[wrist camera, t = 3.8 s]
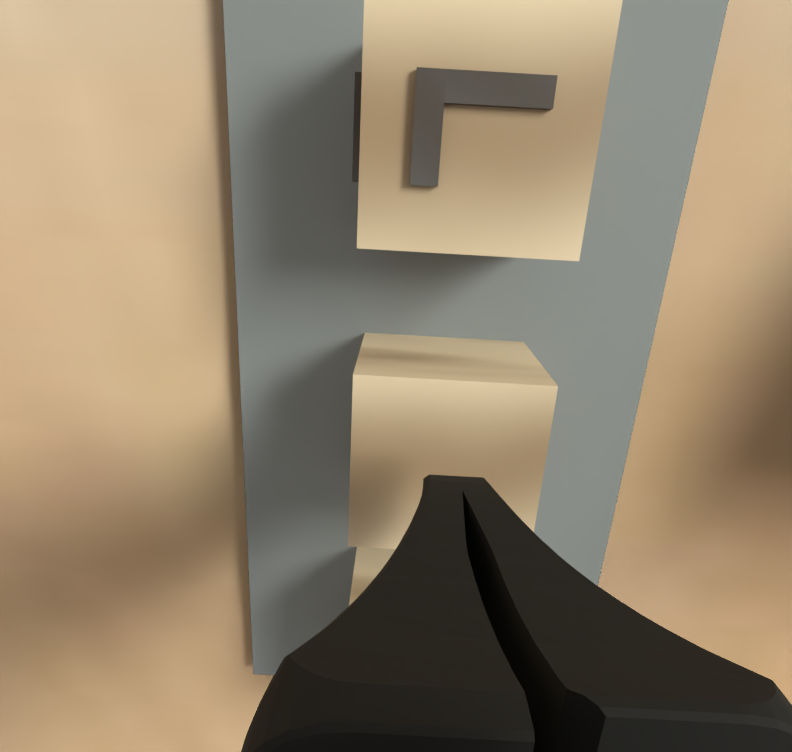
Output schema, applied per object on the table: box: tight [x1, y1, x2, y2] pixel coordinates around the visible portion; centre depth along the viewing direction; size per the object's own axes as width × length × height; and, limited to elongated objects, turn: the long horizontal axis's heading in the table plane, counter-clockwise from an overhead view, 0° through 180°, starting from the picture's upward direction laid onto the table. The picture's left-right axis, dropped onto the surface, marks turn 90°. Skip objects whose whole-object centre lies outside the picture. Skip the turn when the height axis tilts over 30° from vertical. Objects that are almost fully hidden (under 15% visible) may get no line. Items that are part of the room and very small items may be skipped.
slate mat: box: [223, 0, 729, 675], centre depth 18 cm, size 24×13×1 cm, turn 177°
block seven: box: [352, 0, 623, 261], centre depth 13 cm, size 5×5×4 cm
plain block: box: [348, 333, 558, 549], centre depth 16 cm, size 5×5×4 cm
